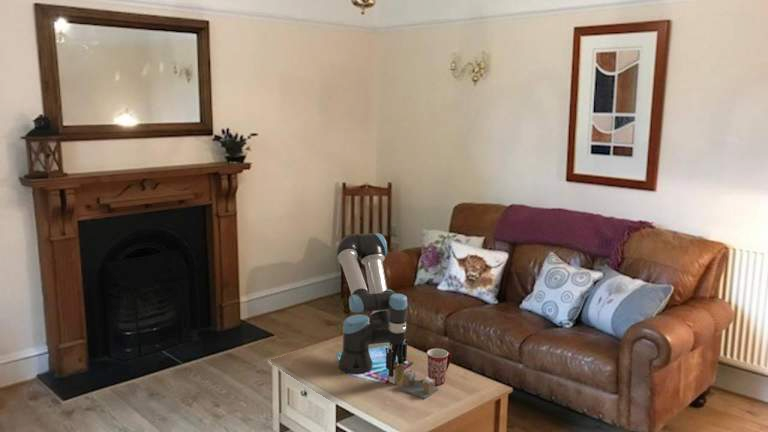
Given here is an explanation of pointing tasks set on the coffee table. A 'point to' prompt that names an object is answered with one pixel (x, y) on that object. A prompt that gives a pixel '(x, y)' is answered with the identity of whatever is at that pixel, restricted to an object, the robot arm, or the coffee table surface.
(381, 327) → the robot arm
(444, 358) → the mug
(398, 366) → the coupler
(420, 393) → the shaft bench
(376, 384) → the coffee table surface
